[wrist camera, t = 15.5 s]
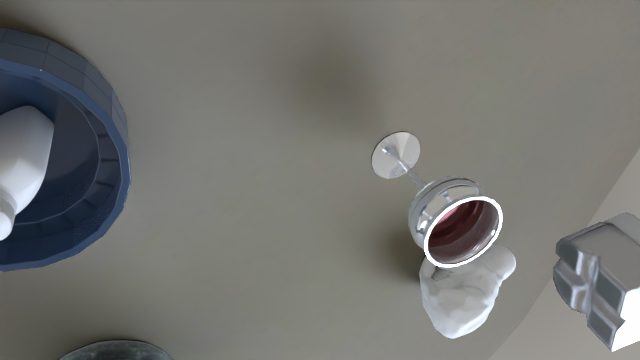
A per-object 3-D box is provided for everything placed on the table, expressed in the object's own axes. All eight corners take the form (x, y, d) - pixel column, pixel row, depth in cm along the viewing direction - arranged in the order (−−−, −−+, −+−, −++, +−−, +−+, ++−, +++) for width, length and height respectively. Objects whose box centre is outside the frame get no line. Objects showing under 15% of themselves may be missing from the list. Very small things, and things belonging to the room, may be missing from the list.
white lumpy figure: (446, 319, 51) (546, 264, 53) (400, 265, 58) (491, 218, 60) (451, 357, 55) (544, 303, 57) (407, 302, 61) (492, 256, 64)
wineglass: (380, 116, 47) (449, 190, 37) (440, 130, 50) (518, 202, 40) (351, 180, 50) (408, 264, 40) (410, 190, 53) (476, 270, 43)
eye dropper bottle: (67, 153, 39) (53, 259, 29) (-17, 170, 38) (-60, 286, 28) (46, 99, 36) (24, 195, 27) (-44, 115, 35) (-101, 222, 26)
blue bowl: (-184, 69, 32) (-235, 111, 27) (67, -7, 34) (60, 20, 29) (-32, 246, 41) (-51, 301, 36) (158, 178, 43) (165, 221, 38)
